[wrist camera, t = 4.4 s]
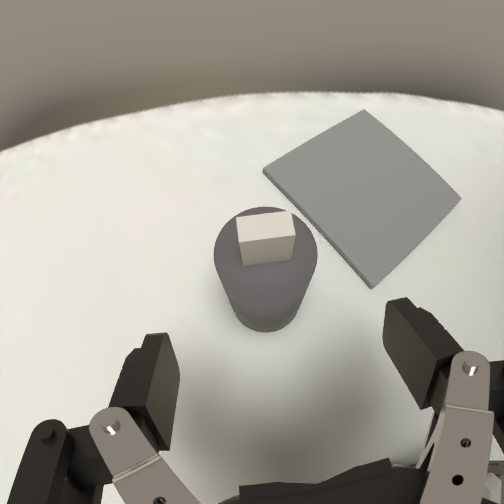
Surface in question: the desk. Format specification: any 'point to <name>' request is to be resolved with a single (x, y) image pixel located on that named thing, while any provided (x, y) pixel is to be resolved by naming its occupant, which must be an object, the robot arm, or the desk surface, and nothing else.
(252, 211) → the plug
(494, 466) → the electrical switch
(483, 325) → the desk surface
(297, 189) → the mat
